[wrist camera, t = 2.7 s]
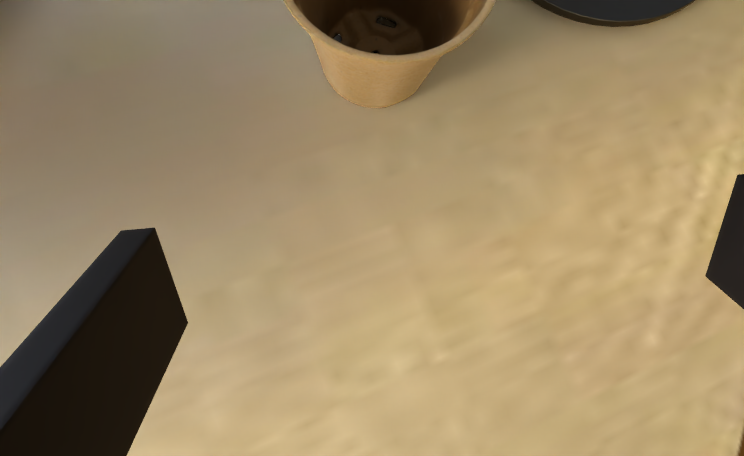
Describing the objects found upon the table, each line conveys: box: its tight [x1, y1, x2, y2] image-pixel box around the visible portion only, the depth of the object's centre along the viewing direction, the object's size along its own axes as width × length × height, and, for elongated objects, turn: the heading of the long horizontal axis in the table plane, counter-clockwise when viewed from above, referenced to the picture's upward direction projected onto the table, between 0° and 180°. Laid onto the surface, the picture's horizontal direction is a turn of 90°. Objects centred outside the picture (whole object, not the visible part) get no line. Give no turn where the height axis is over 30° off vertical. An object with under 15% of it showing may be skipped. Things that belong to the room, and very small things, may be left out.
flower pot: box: [283, 0, 496, 108], centre depth 23 cm, size 9×9×9 cm
